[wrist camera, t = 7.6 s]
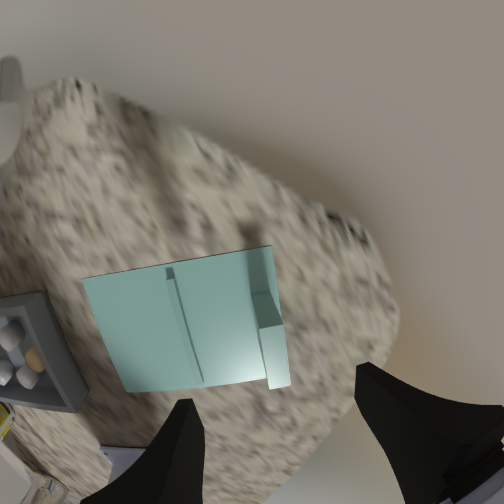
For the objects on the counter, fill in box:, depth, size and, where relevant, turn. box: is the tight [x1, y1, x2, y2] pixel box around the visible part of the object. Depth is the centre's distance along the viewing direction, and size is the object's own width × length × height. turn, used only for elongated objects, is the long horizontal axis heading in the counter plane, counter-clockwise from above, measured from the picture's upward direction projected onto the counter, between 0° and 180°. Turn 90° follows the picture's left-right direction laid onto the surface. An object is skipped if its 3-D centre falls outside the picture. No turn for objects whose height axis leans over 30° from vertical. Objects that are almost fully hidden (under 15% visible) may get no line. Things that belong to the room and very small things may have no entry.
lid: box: [82, 246, 291, 393], centre depth 16 cm, size 10×13×5 cm
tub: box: [0, 290, 89, 413], centre depth 16 cm, size 9×12×3 cm
